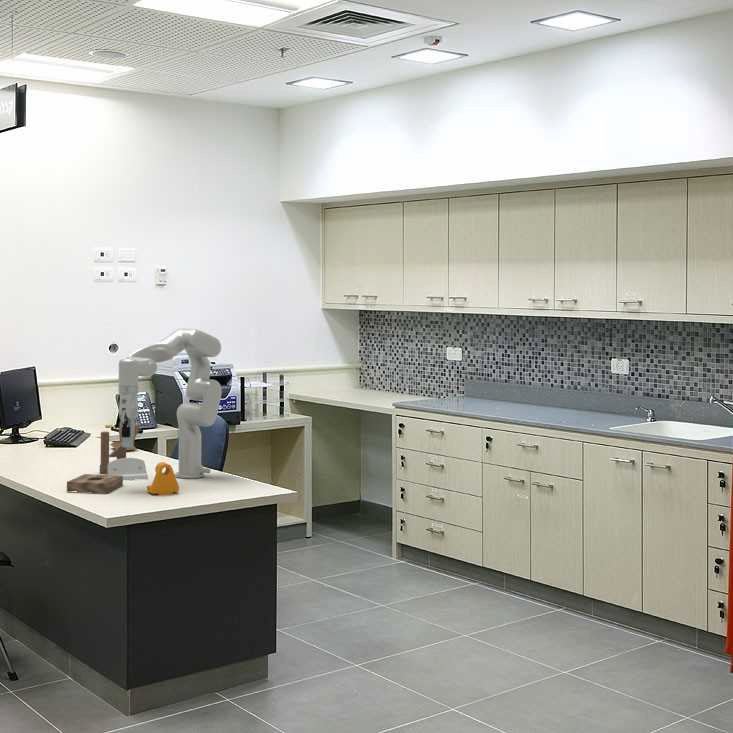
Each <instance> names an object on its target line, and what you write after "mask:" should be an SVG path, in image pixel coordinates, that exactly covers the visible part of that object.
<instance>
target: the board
mask: <svg viewBox="0 0 733 733" xmlns="http://www.w3.org/2000/svg"><path fill="white" fill-rule="evenodd" d="M123 483H124V481H123V476H116V475H107V474H92V473H91V474H89V473H84V474H82V475H80V476H78V477H75V478H73V479H72V478H71V480H68V481H66V492H67V491H77V492H92V493H91V494H97V493H105V494H104V495H107V493H108V494H110V493H112V492H113V491H115V490H117V489H119V488H120V487H123V486H124V484H123Z"/></svg>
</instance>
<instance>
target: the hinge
mask: <svg viewBox="0 0 733 733" xmlns="http://www.w3.org/2000/svg"><path fill="white" fill-rule="evenodd" d="M106 475H116V476H123V480H129V481H136V480H135V479H145V480H148V479H149V476H148V472H147V467H146V464H145V461H144V460H143V459H141V458H135V457H126V458H121V459H117V458H116V459H114V460H111V461H109V463H108V466H107V474H106Z"/></svg>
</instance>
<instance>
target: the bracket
mask: <svg viewBox="0 0 733 733" xmlns="http://www.w3.org/2000/svg"><path fill="white" fill-rule="evenodd" d="M164 468H165V470H164ZM154 470H155V475H154V477H153V480H152V483H151V485H147V486H146V492H148V493H150V494H152V495H153V494H156V495H158V496H164V495H165V496H166V495H173V493H177V492H179V491H180V486H179V483H178V480H177V477H175V472H174V469H173V467H172V466H171V465H170V464H168V463H166V462H158V463H157V464H156V466H155V468H154ZM163 470H164V472H163Z"/></svg>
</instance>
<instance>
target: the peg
mask: <svg viewBox="0 0 733 733" xmlns="http://www.w3.org/2000/svg"><path fill="white" fill-rule="evenodd" d="M125 419H128V418H125ZM135 419H136V418H135ZM135 419H132V420H130V422H129V427H130V437H122V422H121V421H120V422H121V437H122V447H130V448H131V447H133V437H134V436H135V435H134V429H135V422H136V420H135Z"/></svg>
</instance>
